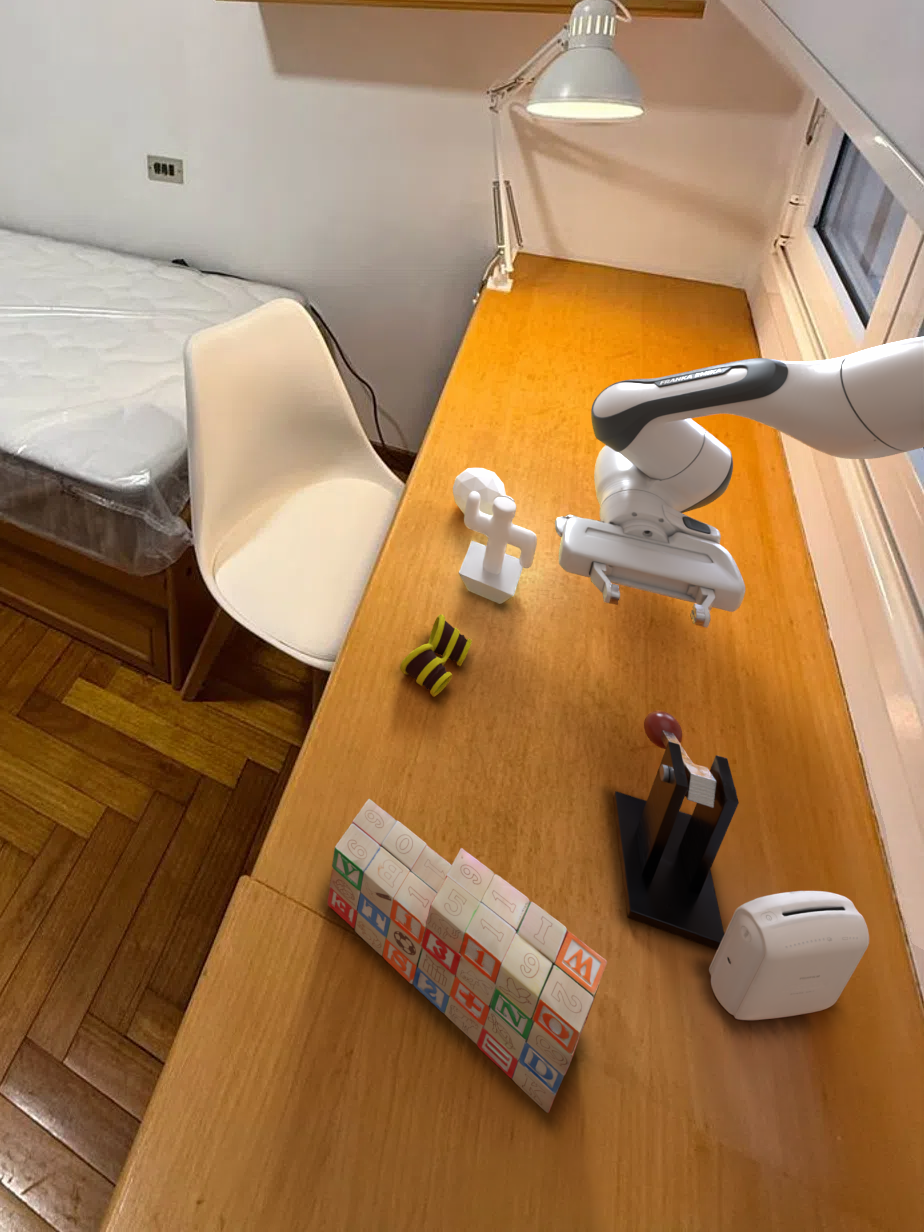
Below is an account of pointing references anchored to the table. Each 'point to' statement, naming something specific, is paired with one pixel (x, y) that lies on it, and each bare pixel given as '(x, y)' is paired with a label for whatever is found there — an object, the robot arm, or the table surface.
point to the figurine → (495, 550)
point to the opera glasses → (427, 664)
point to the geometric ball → (478, 488)
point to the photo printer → (788, 954)
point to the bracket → (674, 851)
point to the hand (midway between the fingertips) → (656, 610)
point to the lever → (699, 778)
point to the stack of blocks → (469, 947)
